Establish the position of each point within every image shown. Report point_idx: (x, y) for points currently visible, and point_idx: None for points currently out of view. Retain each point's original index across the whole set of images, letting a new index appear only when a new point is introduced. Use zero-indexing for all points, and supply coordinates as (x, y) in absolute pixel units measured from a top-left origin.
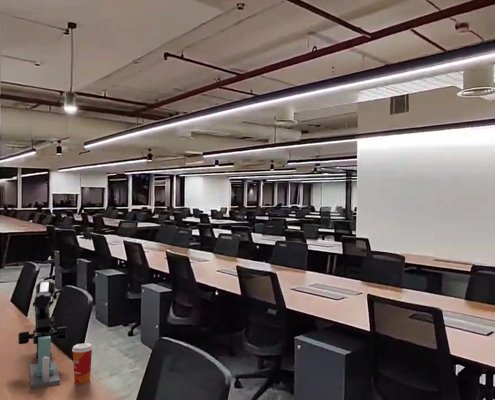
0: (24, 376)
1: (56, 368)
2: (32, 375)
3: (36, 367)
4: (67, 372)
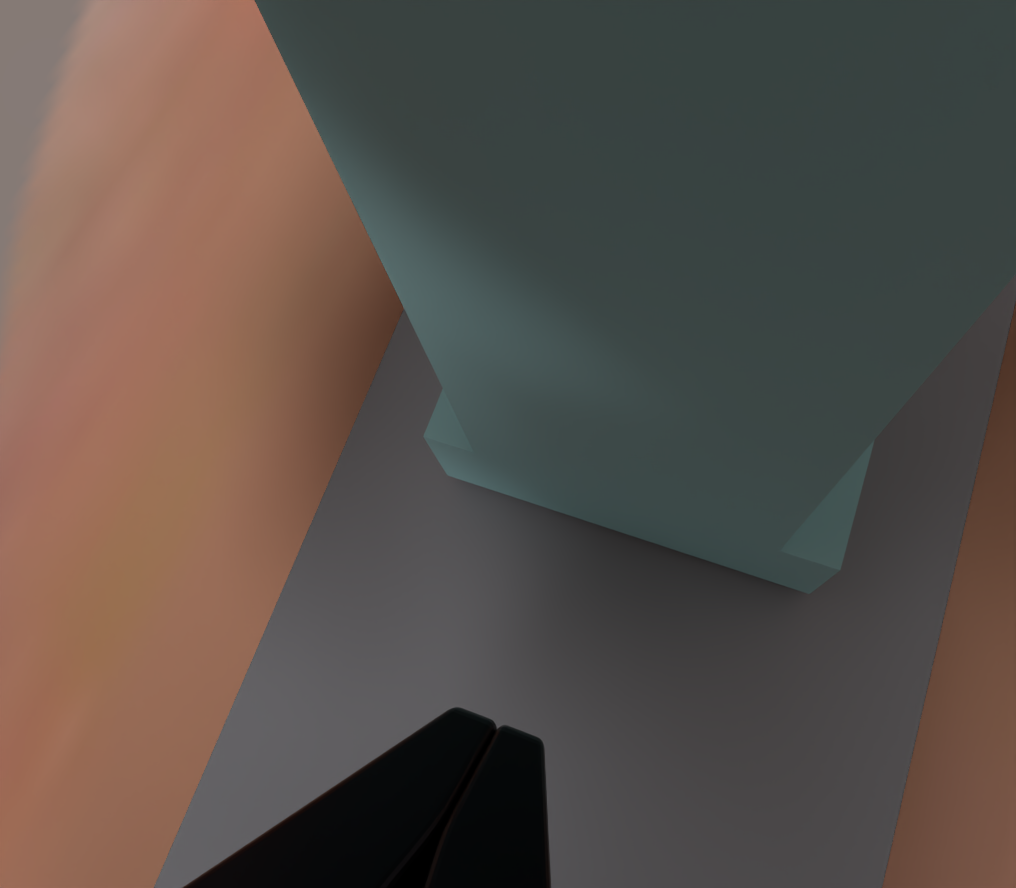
0: (1007, 868)
1: (321, 542)
2: (924, 503)
3: (831, 558)
4: (214, 382)
